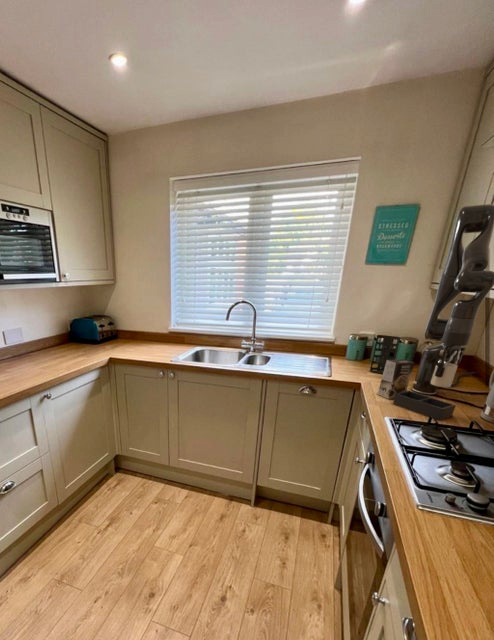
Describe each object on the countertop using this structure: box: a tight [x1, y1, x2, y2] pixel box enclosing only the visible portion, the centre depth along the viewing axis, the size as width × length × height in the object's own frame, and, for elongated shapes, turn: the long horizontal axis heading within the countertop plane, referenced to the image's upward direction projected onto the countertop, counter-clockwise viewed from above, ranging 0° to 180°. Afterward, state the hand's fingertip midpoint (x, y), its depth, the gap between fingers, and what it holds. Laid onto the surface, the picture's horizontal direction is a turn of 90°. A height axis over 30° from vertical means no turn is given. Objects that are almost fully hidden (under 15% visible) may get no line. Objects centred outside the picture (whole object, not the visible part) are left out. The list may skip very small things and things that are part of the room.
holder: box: [369, 334, 401, 374], centre depth 179 cm, size 11×8×20 cm
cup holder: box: [392, 390, 456, 421], centre depth 132 cm, size 9×18×5 cm, turn 28°
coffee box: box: [377, 358, 416, 400], centre depth 144 cm, size 9×6×16 cm
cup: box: [431, 363, 459, 388], centre depth 123 cm, size 6×6×8 cm
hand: (443, 375), depth 123 cm, fingers closed on cup, 6 cm apart
